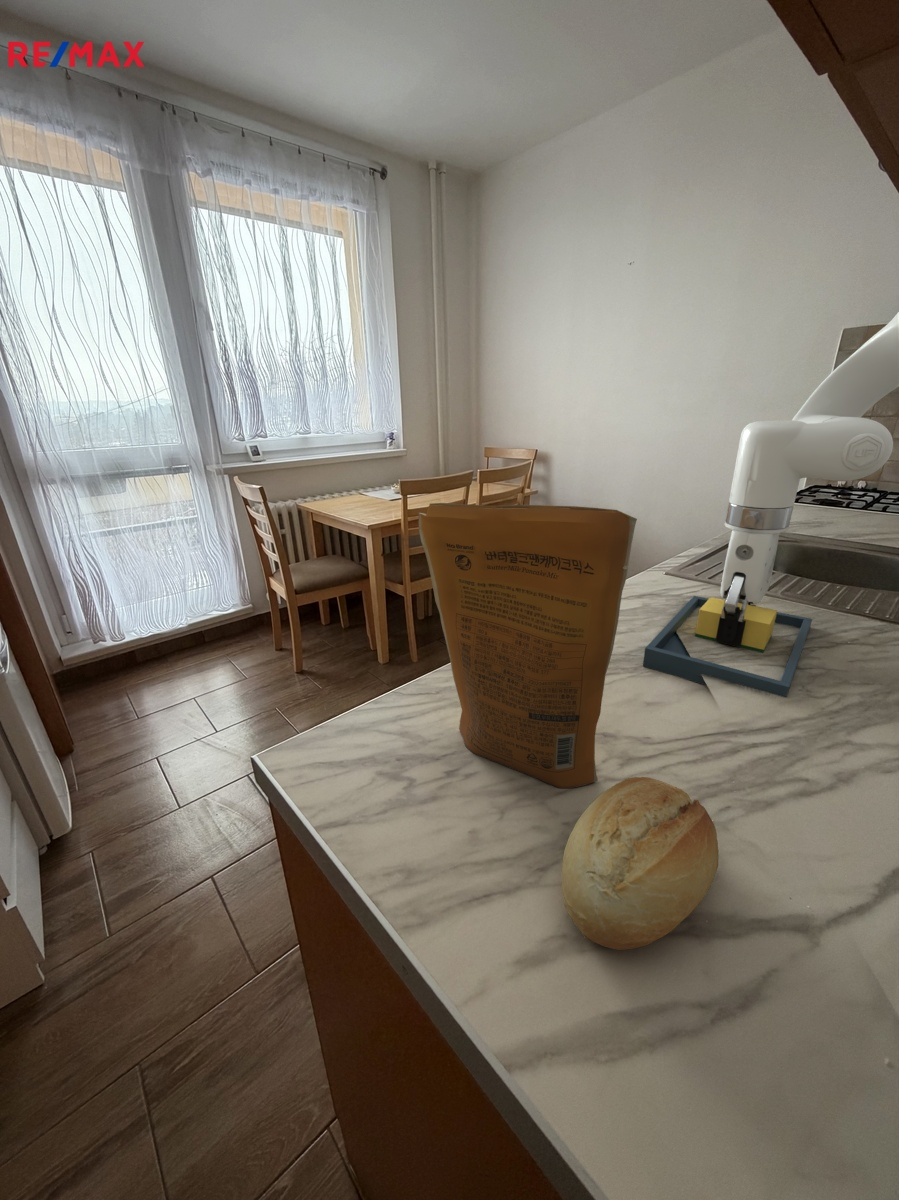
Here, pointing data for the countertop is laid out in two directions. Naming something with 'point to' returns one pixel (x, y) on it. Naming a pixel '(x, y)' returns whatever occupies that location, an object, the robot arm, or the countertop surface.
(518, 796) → the countertop surface
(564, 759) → the pancake mix bag
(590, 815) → the bread roll
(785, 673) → the tray
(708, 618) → the sponge
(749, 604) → the robot arm
